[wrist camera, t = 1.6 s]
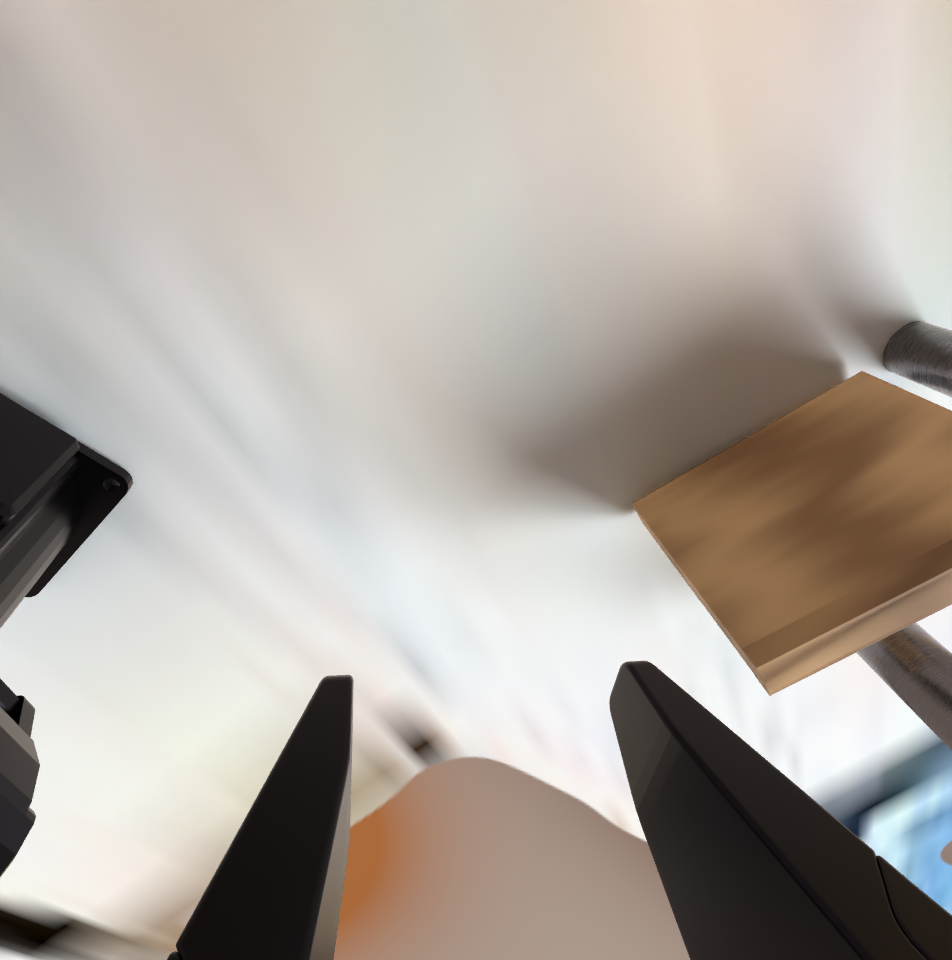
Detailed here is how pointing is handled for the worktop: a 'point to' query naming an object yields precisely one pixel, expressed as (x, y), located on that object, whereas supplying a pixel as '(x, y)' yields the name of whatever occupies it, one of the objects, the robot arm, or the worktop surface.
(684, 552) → the light wooden flat block
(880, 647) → the post
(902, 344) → the hinge post
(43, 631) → the worktop surface
